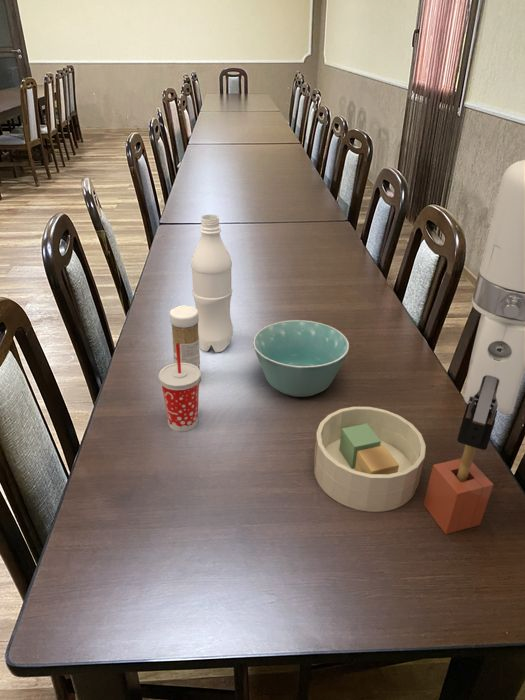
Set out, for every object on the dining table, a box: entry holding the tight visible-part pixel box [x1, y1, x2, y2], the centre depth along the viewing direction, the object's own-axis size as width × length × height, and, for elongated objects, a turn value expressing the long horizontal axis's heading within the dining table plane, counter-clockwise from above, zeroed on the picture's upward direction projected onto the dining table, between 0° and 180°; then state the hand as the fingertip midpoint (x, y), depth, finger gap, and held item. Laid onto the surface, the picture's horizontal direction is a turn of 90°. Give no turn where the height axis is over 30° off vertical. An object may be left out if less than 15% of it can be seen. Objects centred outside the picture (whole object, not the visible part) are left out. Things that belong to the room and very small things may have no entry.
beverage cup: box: [158, 343, 202, 432], centre depth 79 cm, size 6×6×14 cm
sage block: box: [339, 424, 381, 469], centre depth 75 cm, size 4×4×4 cm
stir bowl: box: [313, 406, 427, 513], centre depth 73 cm, size 14×14×6 cm
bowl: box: [252, 319, 350, 398], centre depth 91 cm, size 16×16×8 cm
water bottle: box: [190, 214, 234, 353], centre depth 96 cm, size 7×7×25 cm
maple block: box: [355, 445, 399, 475], centre depth 71 cm, size 4×4×4 cm
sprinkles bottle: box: [169, 304, 202, 383], centre depth 89 cm, size 5×5×13 cm
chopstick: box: [457, 403, 478, 482], centre depth 64 cm, size 1×1×18 cm
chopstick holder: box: [423, 457, 494, 535], centre depth 66 cm, size 5×5×7 cm
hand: (473, 439), depth 62 cm, fingers closed on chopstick, 1 cm apart
